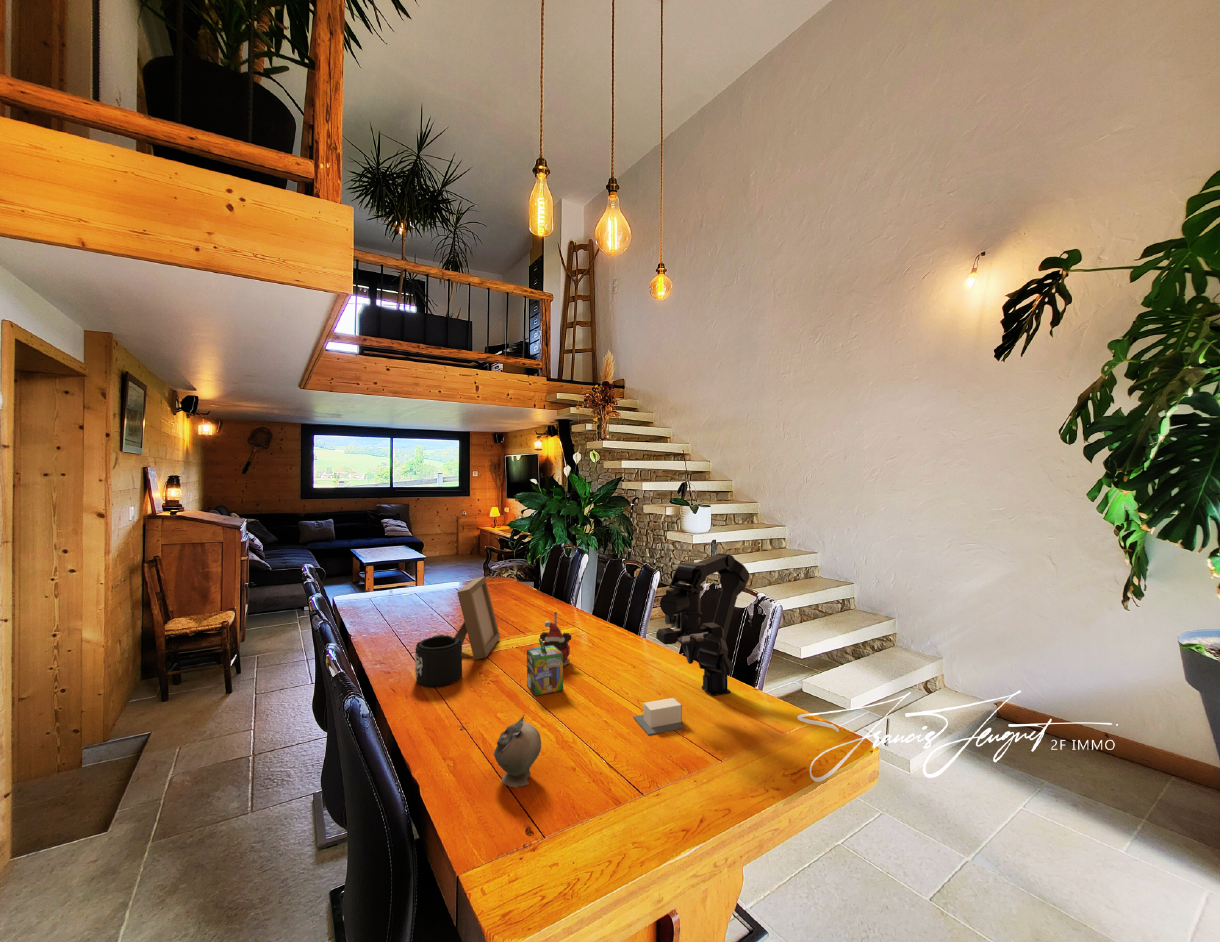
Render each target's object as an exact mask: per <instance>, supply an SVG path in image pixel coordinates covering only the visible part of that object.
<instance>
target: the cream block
mask: <svg viewBox="0 0 1220 942" xmlns="http://www.w3.org/2000/svg"><path fill="white" fill-rule="evenodd" d="M682 706H683V704H682V703H681V702H679V701H678V700H677V699H676V698H675V697H669V698H665V699H659V700H658V699H657V700H653V701H648V702H643V715H644V721H645V722H646V723H647V724H648V725H649V726H650V727H651V728H652V727H657V726H663V725H668V724H673V723H679V722H680V723H682V722H683V716H682V715H683V707H682Z"/></svg>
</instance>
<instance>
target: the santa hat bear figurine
mask: <svg viewBox="0 0 1220 942" xmlns="http://www.w3.org/2000/svg"><path fill="white" fill-rule="evenodd" d="M557 614H558V612H557V611H554V615H553V617H554V622H552V621H550V620H546V621H545V622H544V627H545V628H549V631H543V632H542V633H540V635H539V639H540V640H541V641H543V643H544V645H545V646H551V645H554V646H555V647H556V648H557V649H559V650H560V651H561V652H562V654H563V667H565V666H566V665H569V664H570V661H571V659H570V658H569V656H570V653H571V652H570V651H571V646H570V645H569V642H570V641H571V640H572V634H570V632H562V630H561V628H559V627H558V621H557V620H558V619H557V618H558V615H557Z"/></svg>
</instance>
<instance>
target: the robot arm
mask: <svg viewBox="0 0 1220 942" xmlns="http://www.w3.org/2000/svg"><path fill="white" fill-rule="evenodd" d="M715 573H717V574H718V575H719V583H720V588H721V592H720V597H719V600H718V604H717V608H716V611H715V615H714V619H713V622H705V623H702V624H701V618H703V617H704V615H703V613H702V612H701V592H702V591H704V590H705V588H704V586H702V585H703V583H705V581H707V580H706V579H707V577H708V576H710V575H713V574H715ZM749 579H750V572H749V570H748V569H747V567H746V566H745V565H744V564H743V563H741V562H740V561H738V560H737V559H735V557H734V556H733V555H731V554H729V553H722V552H720V553H719V552H718V553H716V554H715V555H712V556H710V557H708V558H705V559H702V560H699V561H698V562H696V561H695V562H689V561H686V562H680V563H679V564H677V567H676V568H675V571H674V574H673V576H672V579H671V581H670V583H669V585H668V589H666V590H665V594H664V595H662V596H661V599H660V601H659V607H660V610H661V612H663V613H662V614H664V622H665V624H666V625H670V626H671V628H670V627H663V628H658V629H657V631H656V635H655V639H656V640H658V641H659V642H661V643H662V644H663V645H666V646H667V645H675V644H676V643H677V642H678V643H680V645H681V647H682V649H683V652H684V655H685V657H686V661H687V663H688V664H689V665H691V664H693V663H694V661H695V659H696V658H697V661H698V662H697V663H698V665H699V669H700V670H701V669H702V670H703V673H704V674H702V685H701V689H702V690H703V691H705V692H706V693H708V694H709V695H710V696H712V697H715V696H721V695H725V694H726V695H727V694H730V693H731V690H729V688H728V675H731V673H732V671H733V666H734V664H733V662H732V661H731V660H730V659H729V657H728V655H729V649H728V645H727V641H726V640H727V636H728V634H729V633H728V632H729V629H730V625H731V621H732V617H733V613H734V610H735V606H736V602H737V599H738V596H739V595H740V594H741V593H742V592H743V591H744V590H745V589H746V586H747V583H748V581H749ZM672 628H676V629H678V630H673V629H672ZM704 635H707V637H706V638H705V637H704Z"/></svg>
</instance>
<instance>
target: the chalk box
mask: <svg viewBox="0 0 1220 942" xmlns="http://www.w3.org/2000/svg"><path fill="white" fill-rule="evenodd" d="M538 642H539V645H540V646H537V647H533V648H527V649H526V676H527V677H526V686H527V687H528V688H529V690H530V691H531V693H532V694H533V696H534V697H537V696H542V695H546V694H551V693H556V692H562V691H564V666H563V654H562V652H561V651H560V650H559V649H557V648H556V647H555V646H554V645H551V646H545V645H544V641H542V639H540V638H538Z"/></svg>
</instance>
